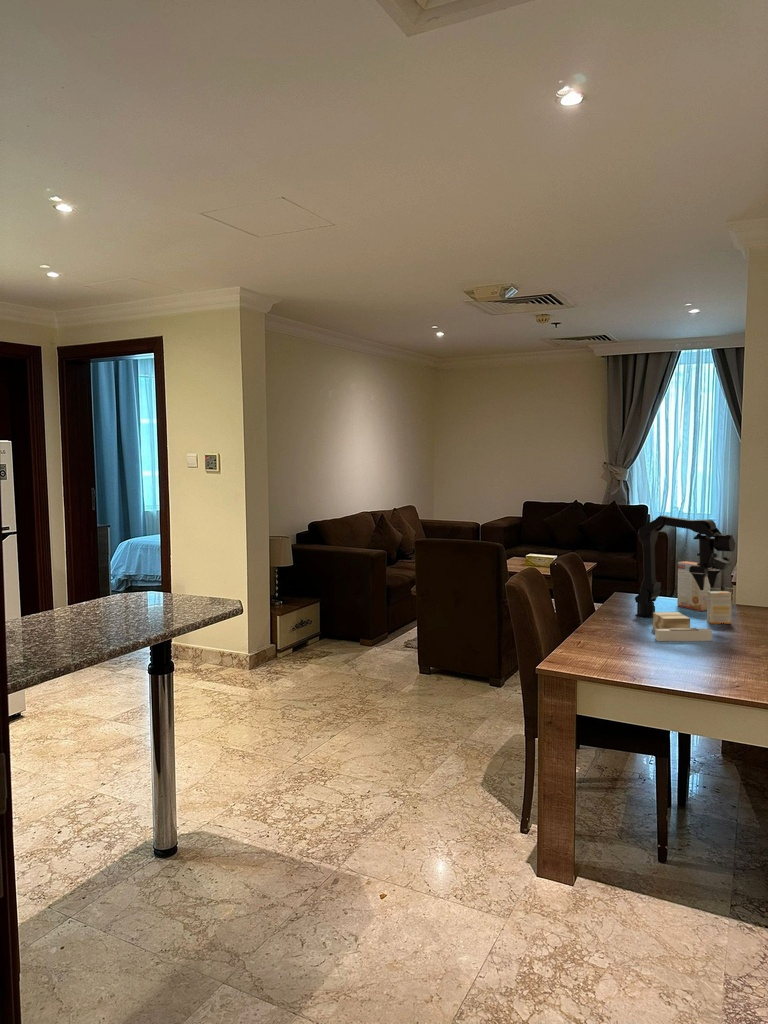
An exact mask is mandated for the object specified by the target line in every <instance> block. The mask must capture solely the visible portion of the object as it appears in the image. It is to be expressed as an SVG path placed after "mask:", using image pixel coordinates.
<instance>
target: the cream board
mask: <svg viewBox="0 0 768 1024" xmlns="http://www.w3.org/2000/svg"><path fill="white" fill-rule="evenodd" d="M654 634H655V635H654V636H655V637H654V640H655V639H656V640H655V641H657V640H658V641H657V642H712V641H713V630H712V629H710V628H696V627H690V628H668V629H655V630H654Z"/></svg>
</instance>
